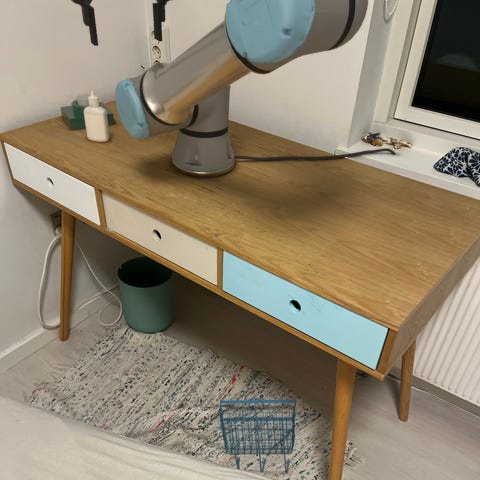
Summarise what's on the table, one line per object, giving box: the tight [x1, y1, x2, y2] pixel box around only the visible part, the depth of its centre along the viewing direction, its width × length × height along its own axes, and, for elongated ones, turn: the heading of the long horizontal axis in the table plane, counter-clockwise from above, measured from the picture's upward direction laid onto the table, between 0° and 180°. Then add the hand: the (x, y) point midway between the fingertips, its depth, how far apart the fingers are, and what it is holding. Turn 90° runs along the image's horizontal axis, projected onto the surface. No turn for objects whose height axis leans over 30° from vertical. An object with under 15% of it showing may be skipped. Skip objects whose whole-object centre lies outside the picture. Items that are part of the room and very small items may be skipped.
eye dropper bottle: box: [84, 90, 111, 143], centre depth 128 cm, size 4×6×12 cm
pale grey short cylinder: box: [76, 93, 91, 106], centre depth 138 cm, size 4×4×2 cm
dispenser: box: [59, 99, 115, 131], centre depth 140 cm, size 12×10×5 cm
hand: (127, 42), depth 104 cm, fingers open, 13 cm apart
